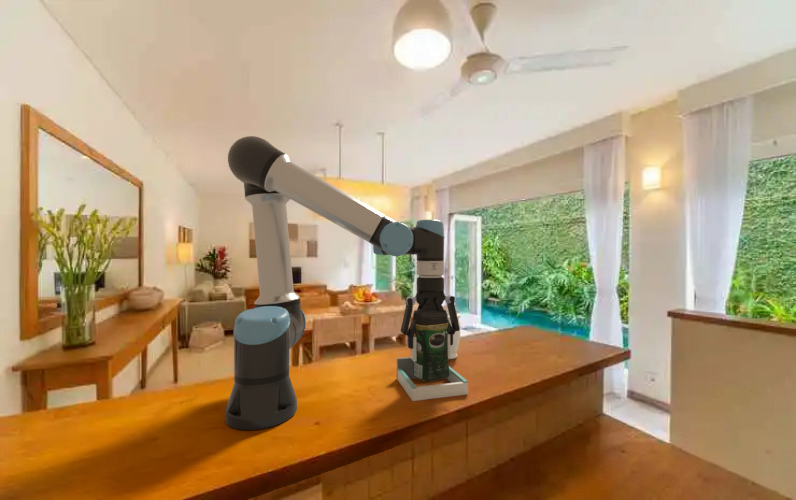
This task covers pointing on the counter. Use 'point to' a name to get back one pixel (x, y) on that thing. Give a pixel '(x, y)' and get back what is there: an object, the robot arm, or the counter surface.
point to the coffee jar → (431, 345)
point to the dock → (431, 391)
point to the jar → (454, 339)
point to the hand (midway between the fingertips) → (430, 358)
